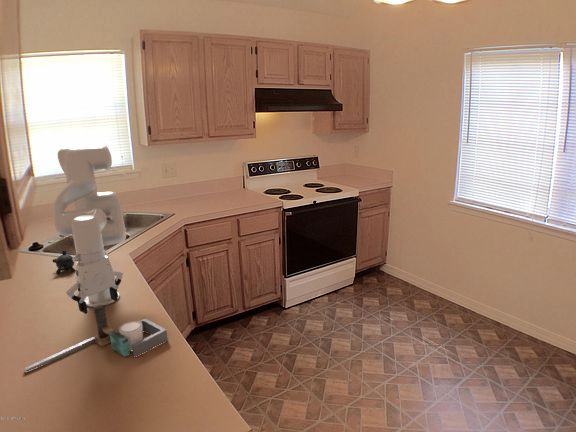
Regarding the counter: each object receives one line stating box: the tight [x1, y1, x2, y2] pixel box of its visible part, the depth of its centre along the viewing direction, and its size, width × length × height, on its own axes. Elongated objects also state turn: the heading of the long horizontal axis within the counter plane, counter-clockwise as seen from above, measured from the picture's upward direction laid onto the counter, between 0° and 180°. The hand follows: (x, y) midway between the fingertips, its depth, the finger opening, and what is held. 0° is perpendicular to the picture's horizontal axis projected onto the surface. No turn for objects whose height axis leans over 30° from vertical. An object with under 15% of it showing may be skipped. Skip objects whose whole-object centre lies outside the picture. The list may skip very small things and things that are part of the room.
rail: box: [23, 336, 96, 372], centre depth 122 cm, size 1×24×1 cm, turn 141°
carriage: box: [93, 305, 130, 358], centre depth 122 cm, size 16×4×12 cm, turn 51°
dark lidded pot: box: [52, 249, 76, 275], centre depth 185 cm, size 11×11×12 cm
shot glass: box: [118, 320, 144, 352], centre depth 124 cm, size 7×7×7 cm
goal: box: [116, 318, 169, 358], centre depth 126 cm, size 12×11×4 cm
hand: (99, 305), depth 125 cm, fingers open, 9 cm apart
